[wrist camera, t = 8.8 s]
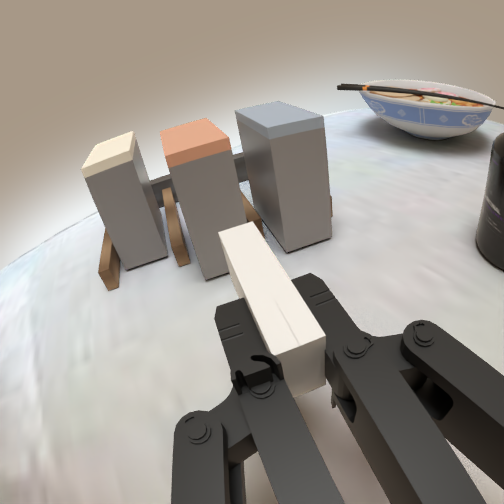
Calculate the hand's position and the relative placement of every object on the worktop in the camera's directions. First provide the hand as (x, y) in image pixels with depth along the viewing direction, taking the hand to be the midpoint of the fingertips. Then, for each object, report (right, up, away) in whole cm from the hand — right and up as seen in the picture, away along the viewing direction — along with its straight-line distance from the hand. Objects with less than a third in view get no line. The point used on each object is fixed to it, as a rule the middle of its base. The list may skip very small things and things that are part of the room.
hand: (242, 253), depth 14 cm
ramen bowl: (+29, +19, +29) cm, 45 cm away
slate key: (+4, +3, +14) cm, 15 cm away
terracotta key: (-2, +1, +13) cm, 14 cm away
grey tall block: (-10, +1, +16) cm, 19 cm away
